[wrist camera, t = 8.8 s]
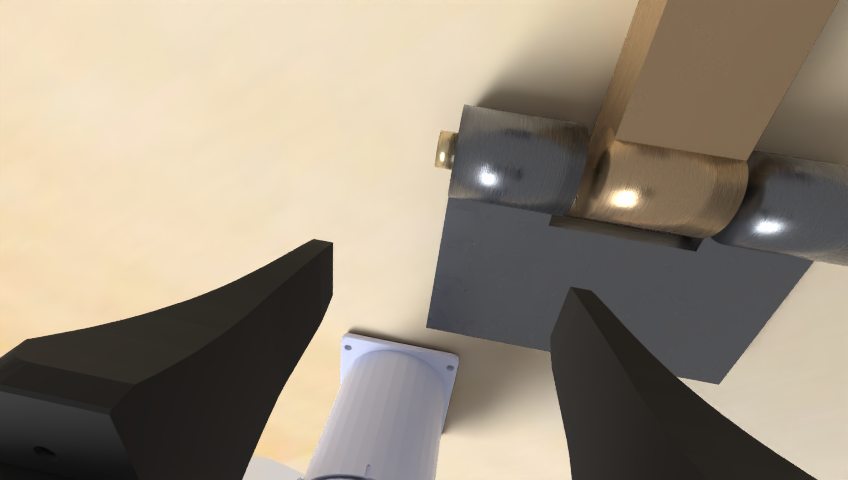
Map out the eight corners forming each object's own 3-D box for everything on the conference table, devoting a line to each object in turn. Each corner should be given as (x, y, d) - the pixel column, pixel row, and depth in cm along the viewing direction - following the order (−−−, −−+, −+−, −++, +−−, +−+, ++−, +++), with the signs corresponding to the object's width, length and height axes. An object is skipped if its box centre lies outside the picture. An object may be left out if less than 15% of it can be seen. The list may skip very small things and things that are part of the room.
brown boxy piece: (671, 213, 19) (710, 255, 16) (570, 195, 20) (587, 233, 16) (802, -45, 14) (904, -66, 11) (661, -65, 14) (715, -90, 11)
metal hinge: (719, 367, 23) (759, 427, 20) (417, 308, 25) (405, 356, 21) (873, 161, 17) (971, 198, 13) (449, 94, 18) (440, 112, 15)
